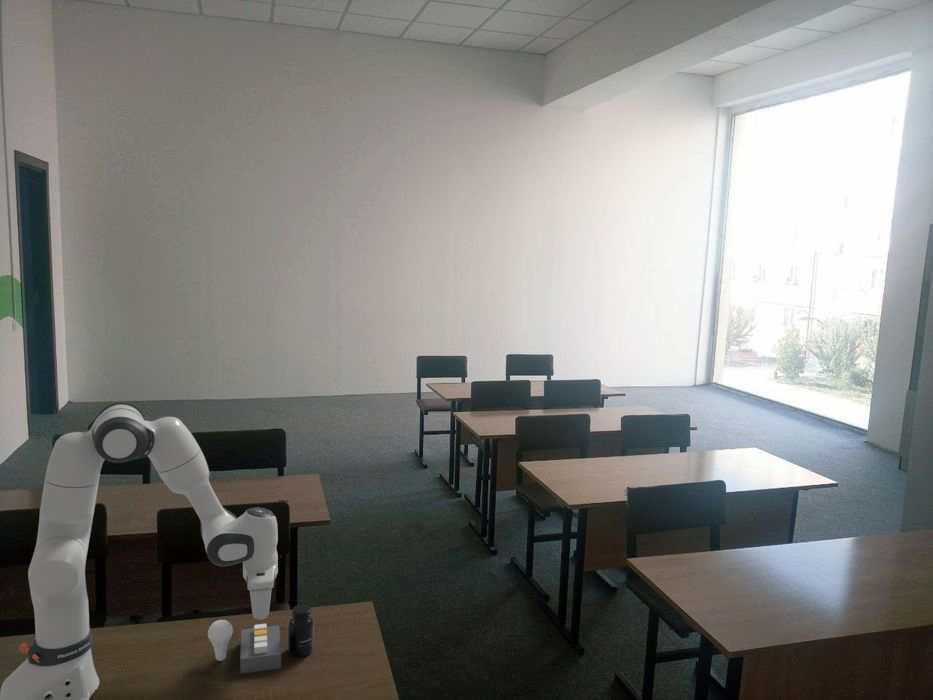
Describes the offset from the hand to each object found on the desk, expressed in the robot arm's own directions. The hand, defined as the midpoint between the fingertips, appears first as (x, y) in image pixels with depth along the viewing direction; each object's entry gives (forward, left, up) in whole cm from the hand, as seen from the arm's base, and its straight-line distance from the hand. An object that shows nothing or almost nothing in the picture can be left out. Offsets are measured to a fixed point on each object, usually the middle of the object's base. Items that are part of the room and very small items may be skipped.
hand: (260, 616), depth 186 cm
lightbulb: (-10, +4, -10) cm, 14 cm away
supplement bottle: (+7, -8, -10) cm, 15 cm away
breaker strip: (+1, +1, -10) cm, 10 cm away
